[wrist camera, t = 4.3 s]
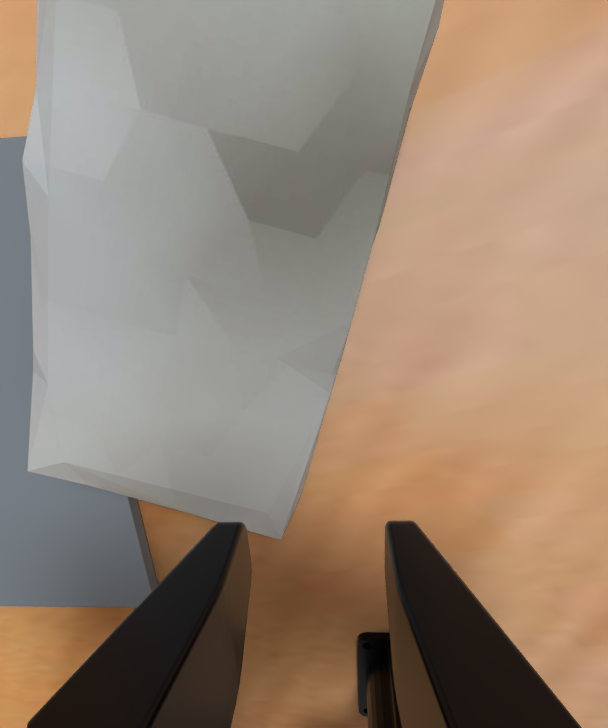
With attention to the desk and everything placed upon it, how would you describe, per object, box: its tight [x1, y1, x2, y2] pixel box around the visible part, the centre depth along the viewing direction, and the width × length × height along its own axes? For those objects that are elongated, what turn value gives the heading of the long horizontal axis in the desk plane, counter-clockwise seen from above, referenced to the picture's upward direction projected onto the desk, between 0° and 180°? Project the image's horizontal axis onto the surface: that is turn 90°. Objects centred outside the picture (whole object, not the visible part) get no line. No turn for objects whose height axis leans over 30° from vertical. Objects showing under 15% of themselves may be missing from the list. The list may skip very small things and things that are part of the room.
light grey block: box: [22, 0, 444, 540], centre depth 17 cm, size 18×5×10 cm
